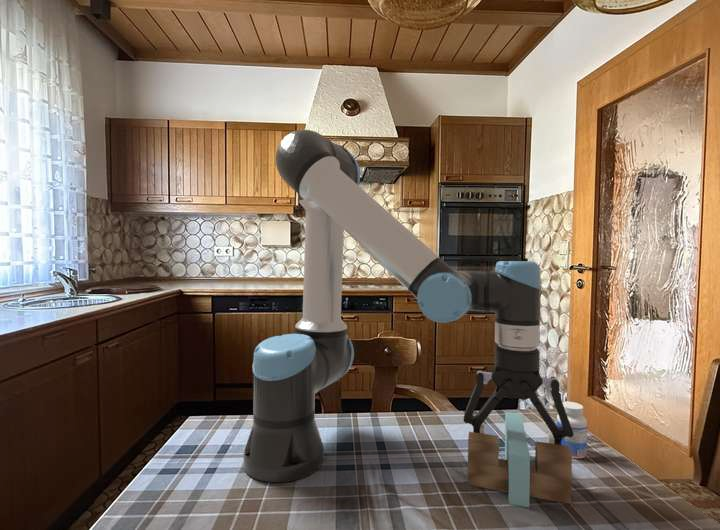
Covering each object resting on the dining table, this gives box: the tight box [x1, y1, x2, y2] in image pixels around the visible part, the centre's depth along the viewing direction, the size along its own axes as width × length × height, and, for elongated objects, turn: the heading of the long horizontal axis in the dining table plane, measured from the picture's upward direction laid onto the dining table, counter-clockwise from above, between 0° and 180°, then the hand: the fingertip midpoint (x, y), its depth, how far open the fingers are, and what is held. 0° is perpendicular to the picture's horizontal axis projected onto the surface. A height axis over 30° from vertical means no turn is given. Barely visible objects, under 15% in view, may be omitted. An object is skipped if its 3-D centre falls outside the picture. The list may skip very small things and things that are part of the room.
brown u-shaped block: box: [467, 431, 573, 505], centre depth 66 cm, size 16×3×8 cm, turn 71°
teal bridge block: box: [504, 411, 531, 508], centre depth 70 cm, size 3×18×8 cm, turn 161°
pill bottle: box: [556, 401, 588, 459], centre depth 78 cm, size 6×5×10 cm
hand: (515, 466), depth 70 cm, fingers open, 11 cm apart
